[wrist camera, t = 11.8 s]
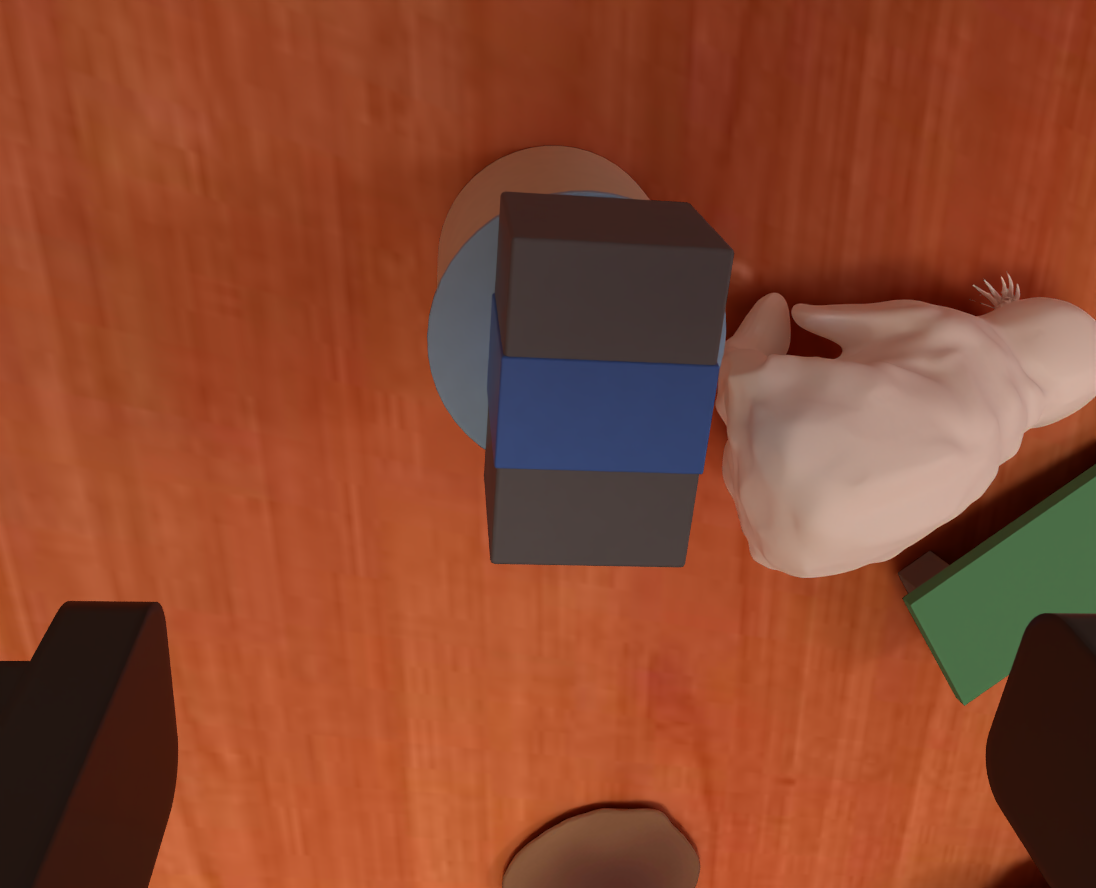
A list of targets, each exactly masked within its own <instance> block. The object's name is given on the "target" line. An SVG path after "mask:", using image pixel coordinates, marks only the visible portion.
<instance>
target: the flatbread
mask: <svg viewBox="0 0 1096 888" xmlns="http://www.w3.org/2000/svg"><path fill="white" fill-rule="evenodd" d="M699 873H700V863H699V858H698V856H697V854H696V852H695V850H694V849H693V847H692V846H691V844H690V843H689V842H688V841H687V839H686V838H685V837H684V835H683V834H682V833H681V832H679V830H678V829H677V828H676V827H674V826H673V825H672V823H671V822H670V820H669V819H668V818H667V816H666V815H665V814H664V813H663V812H661V811H659V810H657V809H648V808H645V809H614V808H601V809H597V810H593V811H590V812H587V813H584V814H580V815H577V816H575V817H570V818H568V819H566V820H564V821H562V822H561V823H559V824H557V825H555V826H554V827H552V828H550V829H548V830H547V831H545V832H544V833H542V834H541V835H539V836H538V837H537V838H535V839H534V840H532V841H531V842H529V843H528V844H527V845H525V846H524V847H523V848H522V849H521V850H520V851H519V852H518V853H517V854H516V855H515V856H514V858H513V860H512V861H511V862H510V864H509V866H508V868H507V870H506V873H505V875H504V877H503V882H502V888H695V886H696V884H697V881H698V877H699Z"/></svg>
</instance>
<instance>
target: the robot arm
mask: <svg viewBox="0 0 1096 888" xmlns="http://www.w3.org/2000/svg"><path fill="white" fill-rule="evenodd" d="M177 766H178V736H177V726H176V716H175V706H174V697H173V687H172V677H171V667H170V658H169V648H168V638H167V628H166V621H165V616H164V612H163V609H162V606H161V605H160V604H159V603H158V602H109V601H67V602H66V603H64V604H63V605H62V606H61V607H60V609H59V610H58V612H57V613H56V615H55V617H54V619H53V621H52V622H51V624H50V626H49V628H48V630H47V632H46V633H45V635H44V637H43V639H42V641H41V642H40V644H39V646H38V648H37V650H36V651H35V653H34V655H33V657H32V659H31V661H0V888H148V885H149V882H150V879H151V875H152V872H153V869H154V865H155V862H156V859H157V855H158V852H159V849H160V845H161V842H162V839H163V835H164V832H165V829H166V825H167V822H168V819H169V815H170V811H171V808H172V803H173V798H174V792H175V786H176V778H177ZM986 768H987V775H988V779H989V784H990V787H991V790H992V793H993V795H994V797H995V800H996V802H997V804H998V805H999V807H1000V809H1001V810H1002V812H1003V813H1004V815H1005V817H1006V818H1007V820H1008V821H1009V823H1010V825H1011V826H1012V828H1013V829H1014V831H1015V832H1016V834H1017V836H1018V837H1019V839H1020V840H1021V842H1022V843H1023V845H1024V847H1025V848H1026V850H1027V851H1028V853H1029V854H1030V856H1031V858H1032V859H1033V861H1034V862H1035V864H1036V866H1037V867H1038V869H1039V870H1040V872H1041V873H1042V875H1043V877H1044V878H1045V880H1046V881H1047V883H1048V884H1049V886H1050V888H1096V614H1092V613H1043V614H1039V615H1038V616H1036V617H1034V618H1033V619H1032V620H1031V621H1030V622H1029V624H1028V626H1027V627H1026V629H1025V631H1024V634H1023V636H1022V639H1021V642H1020V645H1019V648H1018V651H1017V654H1016V657H1015V659H1014V662H1013V665H1012V668H1011V671H1010V674H1009V677H1008V680H1007V683H1006V685H1005V688H1004V691H1003V694H1002V697H1001V700H1000V703H999V706H998V709H997V711H996V714H995V717H994V720H993V723H992V726H991V729H990V732H989V735H988V739H987V745H986Z"/></svg>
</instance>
